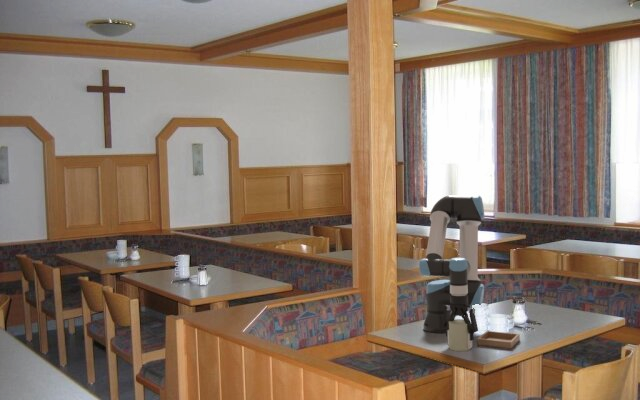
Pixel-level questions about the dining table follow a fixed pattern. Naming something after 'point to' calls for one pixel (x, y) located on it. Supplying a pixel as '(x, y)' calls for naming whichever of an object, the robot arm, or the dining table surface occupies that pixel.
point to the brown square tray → (498, 339)
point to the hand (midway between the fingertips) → (459, 345)
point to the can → (458, 335)
